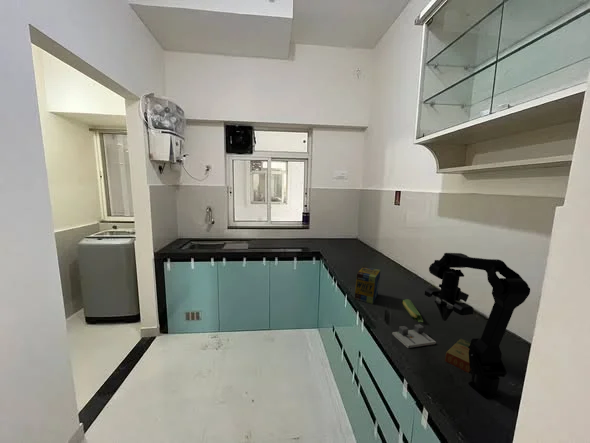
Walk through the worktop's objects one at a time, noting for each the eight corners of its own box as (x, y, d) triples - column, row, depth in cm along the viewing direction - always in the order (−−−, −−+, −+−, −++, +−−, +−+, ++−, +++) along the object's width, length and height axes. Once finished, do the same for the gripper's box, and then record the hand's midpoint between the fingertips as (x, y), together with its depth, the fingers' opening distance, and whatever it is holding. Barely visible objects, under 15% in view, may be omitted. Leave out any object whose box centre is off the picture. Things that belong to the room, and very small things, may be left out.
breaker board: (435, 343, 113) (435, 341, 113) (407, 348, 109) (408, 345, 109) (418, 330, 122) (418, 328, 122) (392, 334, 118) (392, 332, 118)
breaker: (423, 332, 118) (424, 327, 118) (418, 333, 118) (419, 328, 117) (418, 328, 122) (419, 323, 121) (413, 329, 121) (413, 324, 120)
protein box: (354, 299, 152) (356, 273, 149) (360, 290, 165) (363, 266, 163) (372, 304, 147) (375, 277, 145) (378, 294, 160) (380, 269, 158)
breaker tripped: (408, 334, 116) (409, 329, 116) (402, 335, 115) (403, 330, 115) (403, 330, 119) (404, 325, 119) (398, 331, 118) (398, 326, 118)
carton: (444, 361, 102) (445, 351, 102) (458, 346, 113) (460, 337, 112) (468, 374, 96) (470, 363, 95) (482, 356, 107) (483, 346, 106)
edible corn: (410, 298, 147) (403, 295, 147) (426, 317, 128) (417, 314, 128) (406, 306, 148) (399, 303, 148) (421, 326, 129) (412, 323, 129)
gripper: (487, 292, 100) (481, 330, 102) (446, 274, 117) (441, 308, 120) (464, 294, 97) (458, 334, 99) (426, 275, 114) (421, 310, 117)
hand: (444, 320), depth 109 cm, fingers closed
